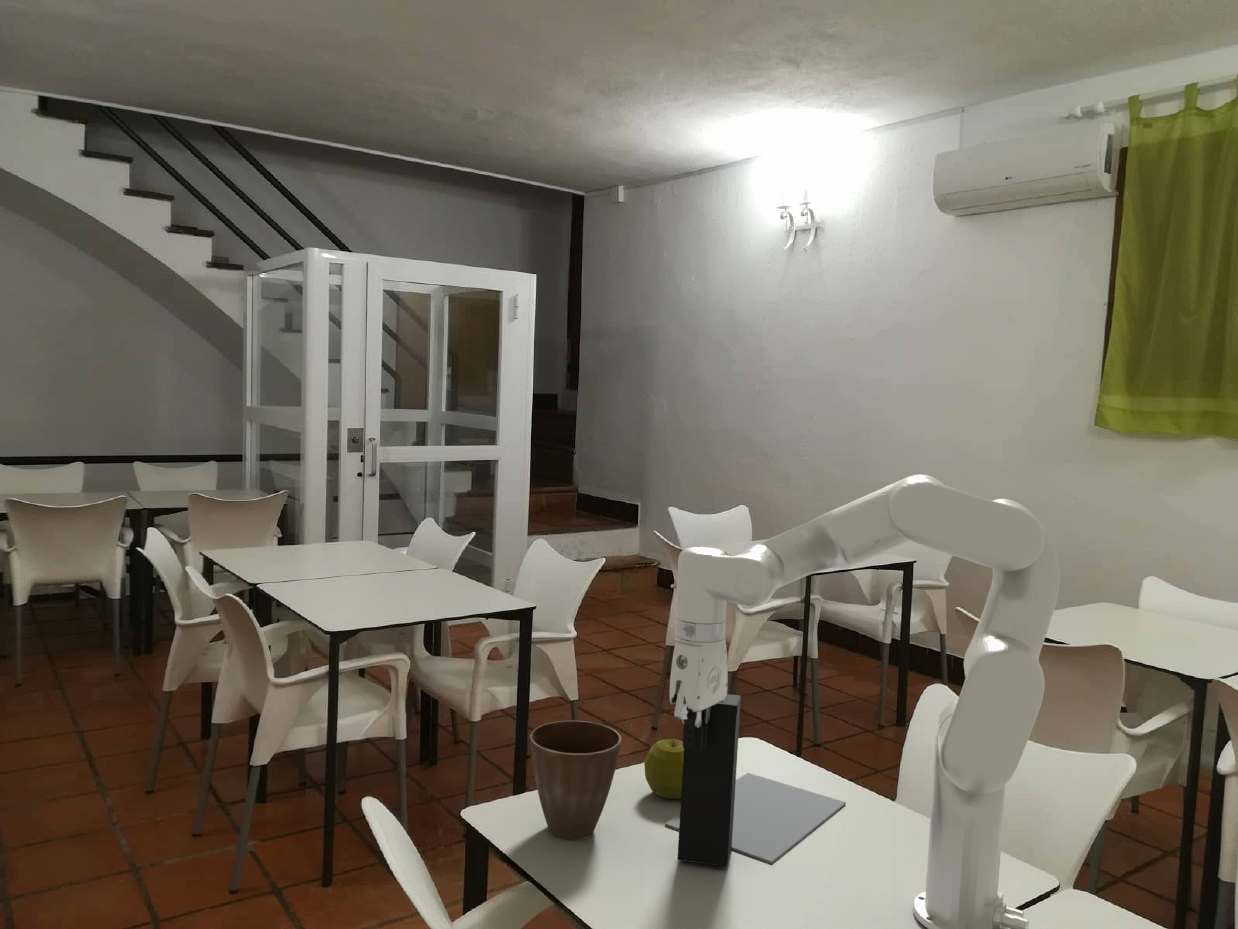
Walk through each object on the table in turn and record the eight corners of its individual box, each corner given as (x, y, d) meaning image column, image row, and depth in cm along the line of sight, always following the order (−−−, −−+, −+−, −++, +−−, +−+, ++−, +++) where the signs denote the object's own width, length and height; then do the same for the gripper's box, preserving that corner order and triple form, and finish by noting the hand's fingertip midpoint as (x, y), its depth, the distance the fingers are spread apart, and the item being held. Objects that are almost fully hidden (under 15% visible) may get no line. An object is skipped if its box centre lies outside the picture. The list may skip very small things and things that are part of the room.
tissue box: (727, 868, 147) (738, 684, 148) (676, 861, 148) (687, 678, 149) (731, 850, 155) (742, 675, 155) (683, 843, 156) (694, 670, 157)
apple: (636, 801, 171) (639, 741, 171) (651, 781, 181) (653, 724, 180) (691, 811, 169) (694, 749, 168) (703, 789, 178) (706, 731, 177)
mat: (845, 804, 174) (845, 802, 174) (771, 864, 151) (771, 861, 150) (747, 774, 186) (747, 772, 186) (664, 825, 162) (665, 823, 162)
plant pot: (635, 836, 158) (639, 741, 157) (560, 861, 149) (564, 760, 147) (581, 803, 170) (585, 715, 168) (509, 824, 160) (512, 730, 159)
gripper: (695, 644, 136) (689, 770, 138) (745, 626, 149) (739, 741, 150) (651, 634, 141) (646, 757, 142) (703, 617, 153) (698, 730, 154)
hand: (694, 748), depth 146 cm, fingers closed
